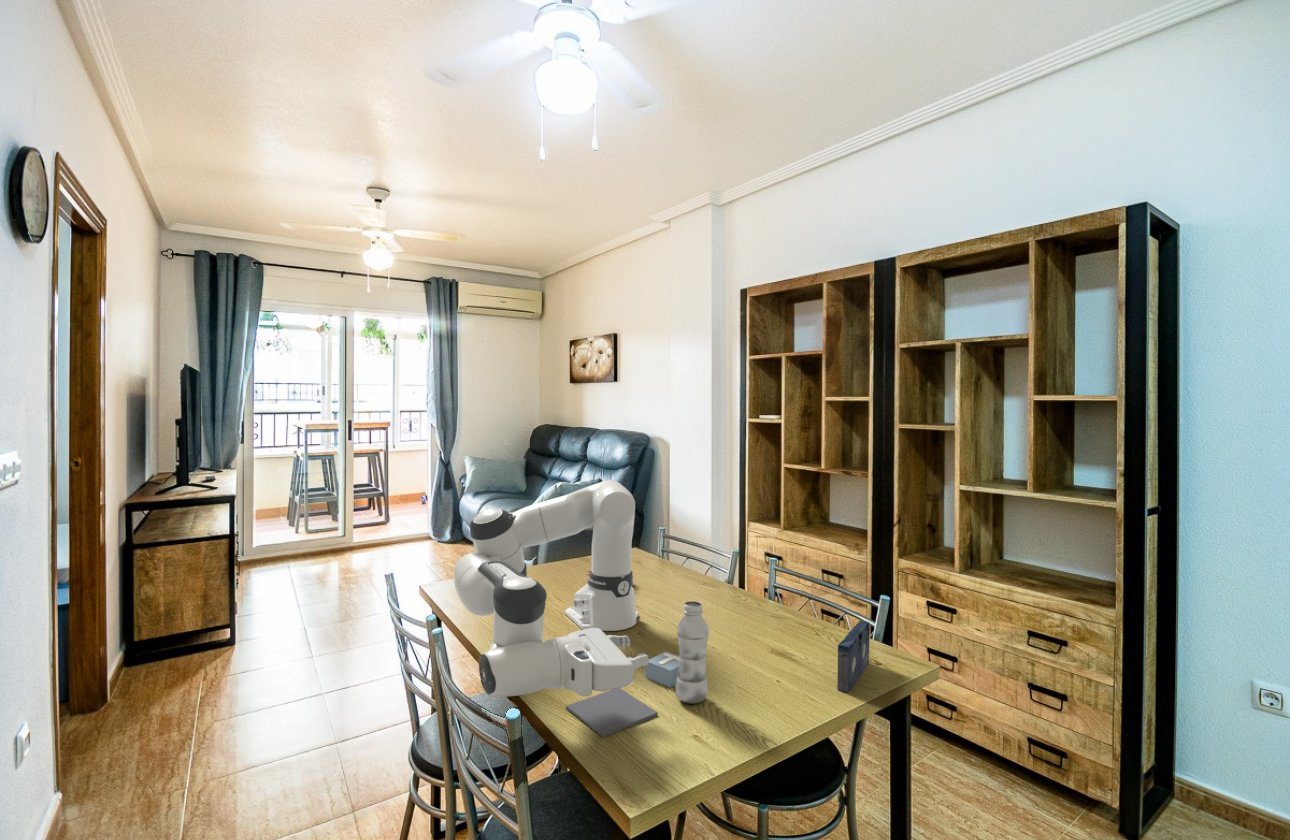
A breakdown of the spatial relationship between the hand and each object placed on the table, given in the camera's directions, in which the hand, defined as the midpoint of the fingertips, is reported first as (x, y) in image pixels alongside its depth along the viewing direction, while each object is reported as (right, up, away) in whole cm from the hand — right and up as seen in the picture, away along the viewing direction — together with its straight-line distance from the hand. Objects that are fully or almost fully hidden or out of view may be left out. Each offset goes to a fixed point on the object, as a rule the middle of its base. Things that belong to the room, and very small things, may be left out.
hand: (637, 649), depth 118 cm
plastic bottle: (+11, -13, +5) cm, 18 cm away
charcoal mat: (-5, -13, 0) cm, 14 cm away
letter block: (+6, -13, +16) cm, 21 cm away
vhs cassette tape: (+49, -13, +17) cm, 53 cm away
